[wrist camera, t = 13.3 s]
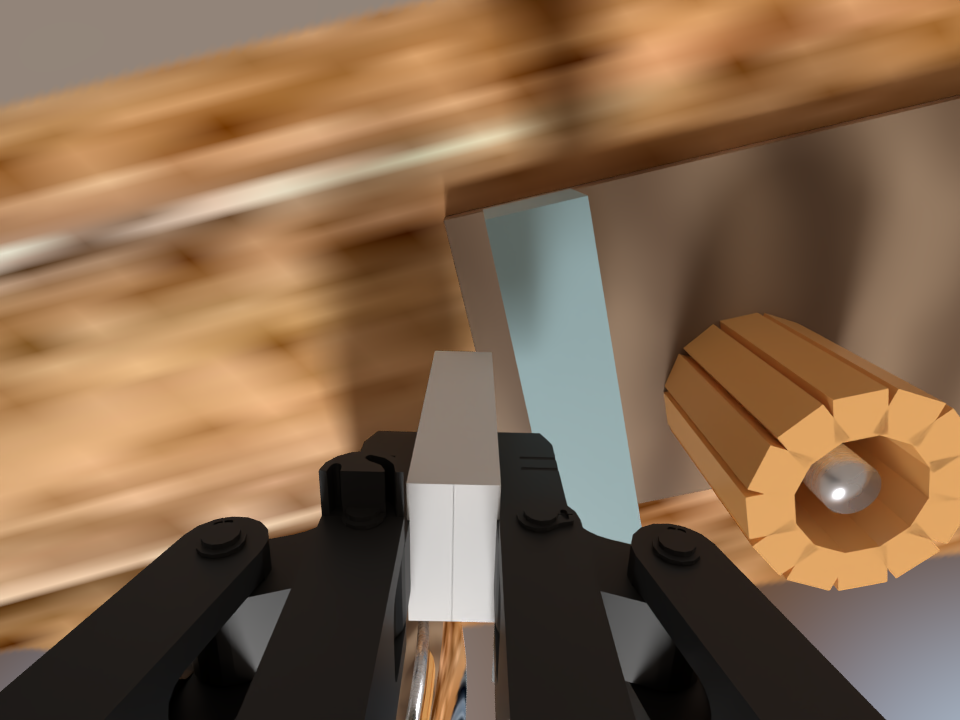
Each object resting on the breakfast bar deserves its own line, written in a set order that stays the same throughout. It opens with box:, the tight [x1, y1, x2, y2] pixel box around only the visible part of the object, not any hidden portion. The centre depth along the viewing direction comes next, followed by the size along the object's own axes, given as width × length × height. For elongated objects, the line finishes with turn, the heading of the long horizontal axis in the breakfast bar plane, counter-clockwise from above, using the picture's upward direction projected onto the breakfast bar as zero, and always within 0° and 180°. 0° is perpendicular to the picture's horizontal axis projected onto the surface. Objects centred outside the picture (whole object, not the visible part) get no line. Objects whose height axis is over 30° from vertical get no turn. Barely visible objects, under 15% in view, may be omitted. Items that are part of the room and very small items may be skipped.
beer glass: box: [396, 612, 467, 720], centre depth 25 cm, size 7×7×15 cm
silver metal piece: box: [802, 443, 881, 514], centre depth 24 cm, size 11×2×9 cm, turn 103°
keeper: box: [483, 189, 641, 544], centre depth 17 cm, size 14×3×2 cm, turn 13°
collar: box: [664, 313, 960, 591], centre depth 24 cm, size 8×8×9 cm
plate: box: [444, 95, 960, 504], centre depth 28 cm, size 30×16×2 cm, turn 103°
